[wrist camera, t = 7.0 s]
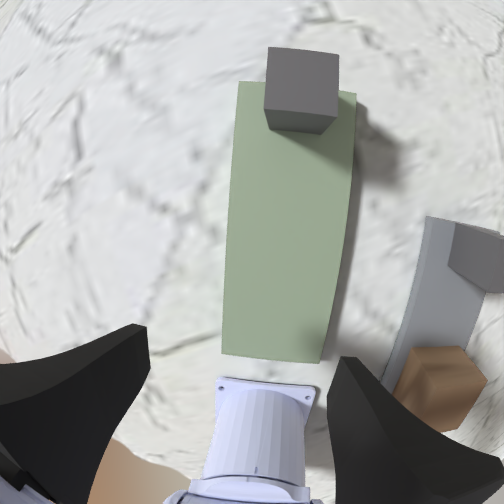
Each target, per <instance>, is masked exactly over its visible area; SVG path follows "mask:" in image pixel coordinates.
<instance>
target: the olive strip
mask: <svg viewBox="0 0 504 504" xmlns="http://www.w3.org/2000/svg"><path fill="white" fill-rule="evenodd" d="M355 122H356V93H351V92H346V91H340V90H339V55H337V54H331V53H325V52H317V51H310V50H301V49H290V48H276V47H268V59H267V71H266V82H247V81H239V86H238V96H237V107H236V118H235V129H234V141H233V153H232V166H231V180H230V193H229V208H228V224H227V240H226V258H225V277H224V299H223V323H222V352H221V354H226V355H233V356H241V357H249V358H257V359H266V360H275V361H286V362H298V363H313V364H319V362H320V359H321V355H322V350H323V346H324V342H325V338H326V333H327V329H328V325H329V320H330V315H331V311H332V306H333V301H334V296H335V290H336V285H337V280H338V274H339V268H340V262H341V256H342V250H343V244H344V237H345V230H346V222H347V215H348V207H349V198H350V189H351V179H352V168H353V155H354V141H355Z"/></svg>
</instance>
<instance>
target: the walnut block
mask: <svg viewBox="0 0 504 504" xmlns="http://www.w3.org/2000/svg"><path fill="white" fill-rule="evenodd" d="M487 381H488V380H487V379H486V378H485V376H484V375H483V374H482V373H481V371H480V370H479V369H478V368H477V366H476V365H475V364H474V363H473V362H472V360H471V359H470V358H469V357H468V356H467V354H466V353H465V352H464V351H463V350H462V349H461V347H460V346H441V347H411V350H410V353H409V355H408V358H407V360H406V363H405V365H404V367H403V370H402V372H401V375H400V377H399V379H398V381H397V384H396V386H395V388H394V390H393V392H392V395H393V396H394V397H395V398H396V399H397V400H398V401H399V402H400V403H401V404H402V405H403V406H404V407H405V408H407V409H408V410H409V411H410V412H411V413H413V414H414V415H415V416H416V417H418V418H419V419H420V420H422V421H423V422H424V423H426V424H427V425H429V426H430V427H432V428H433V429H435V430H436V431H438V432H440V433H442V432H446V431H451V430H455V429H458V427H459V426H460V424H461V423H462V422H463V420H464V419H465V417H466V416H467V414H468V413H469V411H470V410H471V408H472V406H473V405H474V403H475V402H476V400H477V398H478V397H479V395H480V393H481V391H482V390H483V388H484V386H485V384H486V383H487Z"/></svg>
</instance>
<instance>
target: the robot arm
mask: <svg viewBox="0 0 504 504" xmlns="http://www.w3.org/2000/svg"><path fill="white" fill-rule="evenodd" d="M150 369H151V367H150V358H149V348H148V338H147V327H145V326H141V325H137V324H130V325H127V326H125V327H122V328H120V329H118V330H116V331H114V332H111V333H109V334H107V335H105V336H103V337H100V338H98V339H96V340H94V341H92V342H89V343H87V344H84V345H82V346H79V347H77V348H74V349H71V350H69V351H66V352H63V353H60V354H57V355H53V356H50V357H46V358H42V359H37V360H32V361H26V362H20V363H10V364H0V504H54V503H56V504H87V502H88V498H89V494H90V490H91V487H92V484H93V481H94V478H95V475H96V472H97V469H98V467H99V464H100V462H101V459H102V457H103V454H104V452H105V450H106V448H107V445H108V443H109V441H110V439H111V437H112V435H113V433H114V431H115V429H116V428H117V426H118V424H119V423H120V421H121V420H122V418H123V417H124V415H125V414H126V412H127V410H128V409H129V407H130V406H131V404H132V403H133V401H134V400H135V398H136V396H137V395H138V393H139V392H140V390H141V388H142V386H143V384H144V382H145V380H146V378H147V375H148V373H149V371H150ZM220 386H222V387H224V388H221V387H220ZM315 394H316V390H315V388H314V387H311V386H296V385H283V384H272V383H263V382H254V381H246V380H238V379H231V378H225V377H219V378H218V379H217V381H216V426H215V430H214V433H213V437H212V440H211V444H210V447H209V451H208V454H207V458H206V461H205V465H204V468H203V471H202V475H201V478H200V480H197V479H192V481H191V484H190V487H189V490H182V489H181V490H178V491H176V492H174V493H173V494H172V495H171V496H169V497H168V498H166V500H165V501H164V502H163V504H324V503H323V502H322V501H321V500H320V499H312V500H310V487H305V443H304V429H305V426H306V423H307V420H308V416H309V413H310V410H311V407H312V404H313V401H314V397H315ZM306 396H309V397H306ZM327 419H328V426H329V432H330V438H331V445H332V451H333V457H334V464H335V474H336V500H335V504H482V503H483V502H484V501H486V500H487V499H488V498H489V497H491V496H492V495H493V494H494V493H495V492H496V491H497V490H499V488H501V487H502V485H503V484H504V466H503V464H502V462H501V460H500V458H499V457H496V456H492V455H489V454H486V453H483V452H479V451H476V450H474V449H471V448H469V447H467V446H464V445H462V444H460V443H458V442H456V441H454V440H452V439H450V438H448V437H446V436H445V435H443V434H441V433H440V432H438V431H436V430H435V429H433V428H432V427H430V426H429V425H427V424H426V423H424V422H423V421H422V420H420V419H419V418H418V417H416V416H415V415H414V414H413V413H411V412H410V411H409V410H408V409H407V408H405V407H404V406H403V405H402V404H401V403H400V402H399V401H398V400H397V399H396V398H395V397H394V396H393V395H392V394H391V393H390V392H389V391H388V390H387V389H386V388H385V387H384V386H383V385H382V384H381V383H380V382H379V381H378V380H377V379H376V378H375V377H374V376H373V374H372V373H371V372H370V371H369V370H368V369H367V368H366V367H365V366H364V365H363V364H362V362H361V361H360V360H359V359H358V358H357V357H343V356H341V357H340V360H339V363H338V366H337V369H336V372H335V375H334V378H333V381H332V383H331V386H330V389H329V392H328V394H327ZM49 500H51V501H52V502H54V503H52V502H51V501H49Z"/></svg>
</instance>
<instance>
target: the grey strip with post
mask: <svg viewBox="0 0 504 504" xmlns="http://www.w3.org/2000/svg"><path fill="white" fill-rule="evenodd" d="M486 291H487V292H488V293H504V236H503V235H500V233H499V232H497V231H494V230H490V229H486V228H482V227H477V226H473V225H468V224H464V223H459V222H454V221H449V220H444V219H439V218H434V217H429V216H426V222H425V229H424V234H423V240H422V245H421V251H420V255H419V260H418V265H417V269H416V274H415V278H414V282H413V286H412V290H411V294H410V297H409V301H408V305H407V308H406V311H405V315H404V318H403V321H402V325H401V328H400V331H399V334H398V337H397V340H396V343H395V346H394V348H393V351H392V354H391V357H390V359H389V362H388V365H387V367H386V370H385V372H384V375H383V377H382V380H381V382H380V383H381V384H382V385H383V386H384V387H385V388H386V389H387V390H388V391H389V392H390V393H391V394H392V392H393V390H394V388H395V386H396V384H397V381H398V379H399V377H400V375H401V372H402V370H403V367H404V365H405V363H406V360H407V358H408V355H409V353H410V350H411V347H441V346H460V347H461V349H462V350H463V351H465V348H466V346H467V344H468V341H469V339H470V336H471V334H472V331H473V329H474V326H475V323H476V321H477V318H478V315H479V312H480V309H481V306H482V303H483V300H484V297H485V294H486Z"/></svg>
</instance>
